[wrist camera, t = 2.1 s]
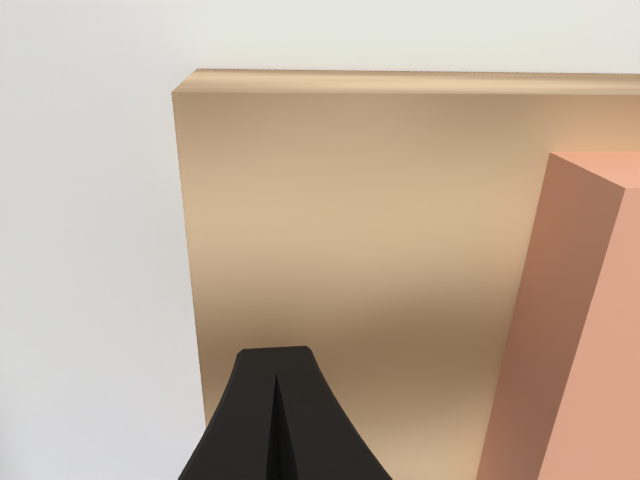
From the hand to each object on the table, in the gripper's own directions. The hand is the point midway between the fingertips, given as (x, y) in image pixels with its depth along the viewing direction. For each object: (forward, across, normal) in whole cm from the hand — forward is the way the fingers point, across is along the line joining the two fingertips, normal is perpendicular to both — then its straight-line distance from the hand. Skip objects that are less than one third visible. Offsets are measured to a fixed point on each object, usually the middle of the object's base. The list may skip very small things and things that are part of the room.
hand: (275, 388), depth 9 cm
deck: (+4, -6, 0) cm, 7 cm away
